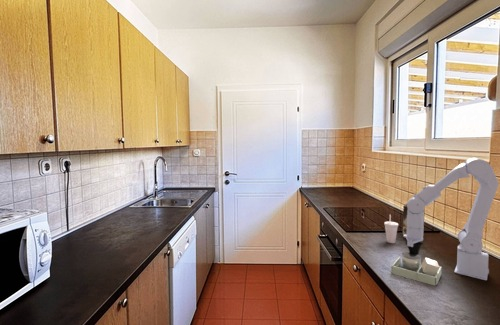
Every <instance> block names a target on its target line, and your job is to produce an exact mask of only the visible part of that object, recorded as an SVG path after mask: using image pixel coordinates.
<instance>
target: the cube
mask: <svg viewBox="0 0 500 325" xmlns="http://www.w3.org/2000/svg"><path fill="white" fill-rule="evenodd" d="M421 265H422V269H423V272H424V273H427V274H430V275H433V276H436V274H437V272H438V270H439V268H440V267H441V266H440V265H439V263H438V261H437V260H435V259H431V258H429V257H423V260H422V262H421ZM439 266H440V267H439ZM423 272H422V273H423Z"/></svg>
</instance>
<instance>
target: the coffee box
mask: <svg viewBox="0 0 500 325" xmlns="http://www.w3.org/2000/svg"><path fill="white" fill-rule="evenodd" d="M402 209H403V213H402V235H407V215H408V214H407V211H408V208H407V203H405V204H404V205H403V208H402ZM422 216H423V236H424V231H425V229H424V226H425V209H424V210H423V211H422Z"/></svg>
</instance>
